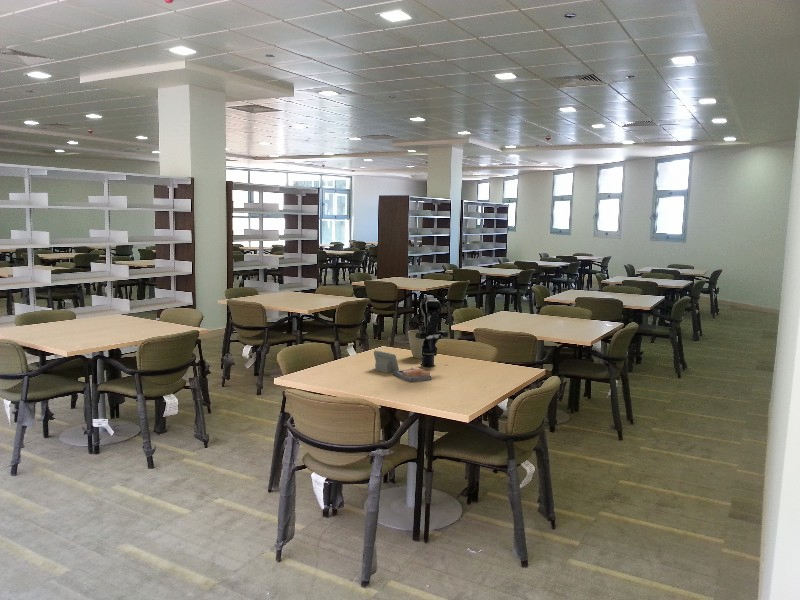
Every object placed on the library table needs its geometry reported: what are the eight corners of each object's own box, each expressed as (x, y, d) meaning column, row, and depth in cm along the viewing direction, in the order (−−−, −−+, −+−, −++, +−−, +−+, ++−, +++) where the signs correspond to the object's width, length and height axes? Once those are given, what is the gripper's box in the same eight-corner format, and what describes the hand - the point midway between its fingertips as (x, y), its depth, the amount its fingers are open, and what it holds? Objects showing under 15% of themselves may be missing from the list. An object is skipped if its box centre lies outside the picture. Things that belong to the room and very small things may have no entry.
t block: (416, 373, 351) (417, 367, 351) (429, 378, 340) (430, 372, 340) (398, 375, 345) (398, 369, 345) (410, 380, 334) (411, 374, 334)
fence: (413, 372, 353) (413, 368, 353) (431, 379, 338) (431, 375, 338) (392, 374, 347) (393, 371, 346) (410, 382, 331) (410, 378, 331)
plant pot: (410, 360, 385) (410, 334, 383) (405, 354, 400) (405, 329, 398) (433, 359, 388) (434, 333, 386) (428, 354, 403) (429, 329, 401)
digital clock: (400, 372, 353) (401, 353, 351) (387, 374, 347) (387, 355, 346) (383, 366, 365) (384, 348, 364) (370, 368, 360) (371, 350, 359)
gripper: (438, 319, 366) (437, 346, 368) (410, 321, 357) (409, 348, 359) (449, 322, 357) (448, 349, 359) (421, 324, 347) (420, 352, 349)
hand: (431, 349), depth 356 cm, fingers closed
